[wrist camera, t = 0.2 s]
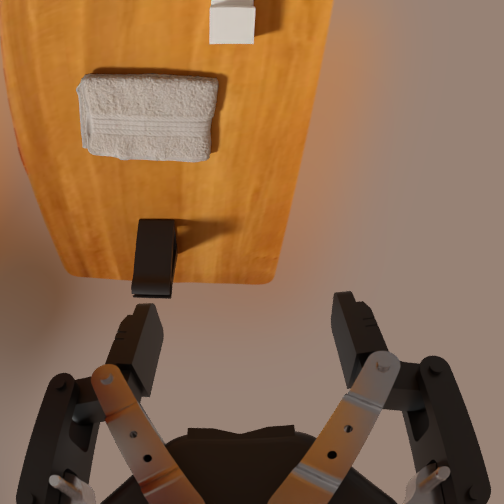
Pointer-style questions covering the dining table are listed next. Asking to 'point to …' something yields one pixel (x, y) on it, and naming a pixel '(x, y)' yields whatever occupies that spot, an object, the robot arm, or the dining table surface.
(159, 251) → the phone stand
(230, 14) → the rail
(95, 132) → the washcloth
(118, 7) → the dining table surface
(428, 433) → the robot arm
